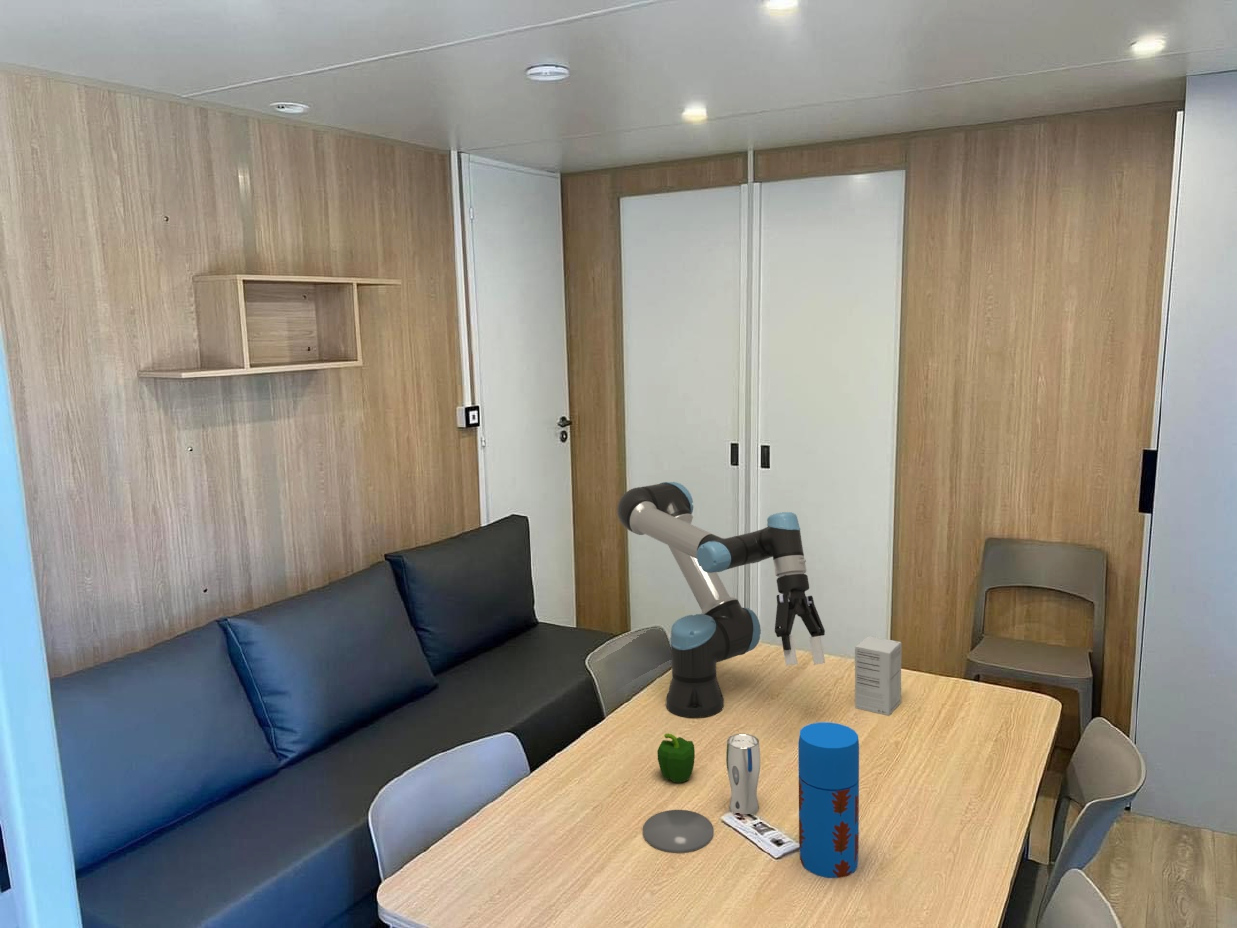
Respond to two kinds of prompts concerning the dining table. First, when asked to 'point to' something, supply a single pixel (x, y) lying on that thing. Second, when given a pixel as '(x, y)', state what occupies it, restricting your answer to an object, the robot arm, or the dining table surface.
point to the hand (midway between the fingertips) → (805, 664)
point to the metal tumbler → (743, 772)
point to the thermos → (828, 799)
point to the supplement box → (878, 675)
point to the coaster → (678, 831)
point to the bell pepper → (676, 758)
